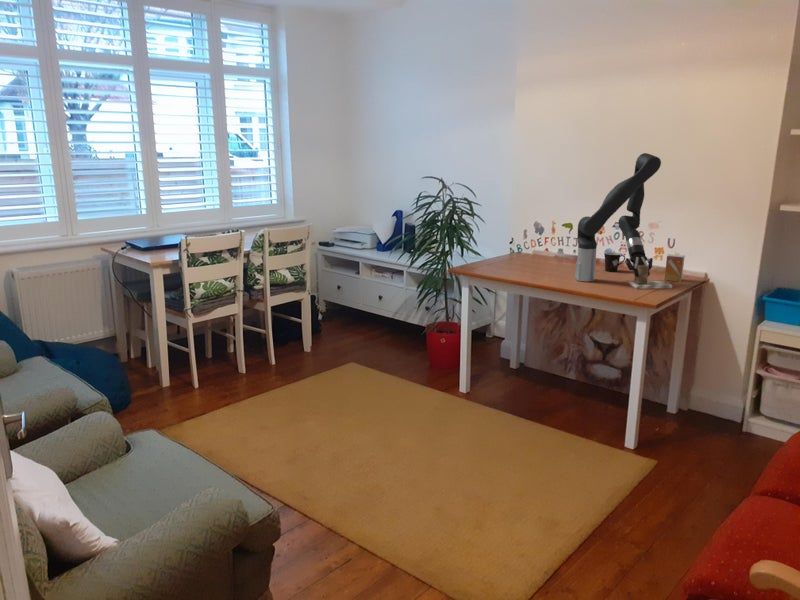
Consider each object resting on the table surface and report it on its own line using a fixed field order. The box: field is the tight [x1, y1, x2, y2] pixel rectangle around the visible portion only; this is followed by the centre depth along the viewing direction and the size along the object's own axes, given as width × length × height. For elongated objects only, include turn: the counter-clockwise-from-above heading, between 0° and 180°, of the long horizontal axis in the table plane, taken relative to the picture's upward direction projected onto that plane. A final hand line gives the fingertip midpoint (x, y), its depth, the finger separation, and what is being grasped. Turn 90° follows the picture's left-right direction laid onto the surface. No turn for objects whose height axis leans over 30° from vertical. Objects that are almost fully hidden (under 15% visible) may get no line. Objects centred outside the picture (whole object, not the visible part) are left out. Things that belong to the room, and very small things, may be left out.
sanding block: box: [633, 265, 649, 284], centre depth 312 cm, size 4×5×9 cm
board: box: [628, 280, 673, 290], centre depth 313 cm, size 18×10×2 cm, turn 91°
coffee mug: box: [604, 251, 626, 273], centre depth 349 cm, size 12×9×10 cm
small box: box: [663, 254, 686, 283], centre depth 325 cm, size 8×6×13 cm
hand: (642, 276), depth 310 cm, fingers closed on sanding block, 4 cm apart
